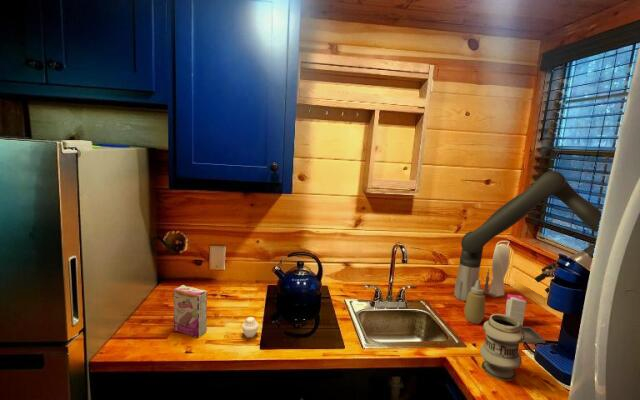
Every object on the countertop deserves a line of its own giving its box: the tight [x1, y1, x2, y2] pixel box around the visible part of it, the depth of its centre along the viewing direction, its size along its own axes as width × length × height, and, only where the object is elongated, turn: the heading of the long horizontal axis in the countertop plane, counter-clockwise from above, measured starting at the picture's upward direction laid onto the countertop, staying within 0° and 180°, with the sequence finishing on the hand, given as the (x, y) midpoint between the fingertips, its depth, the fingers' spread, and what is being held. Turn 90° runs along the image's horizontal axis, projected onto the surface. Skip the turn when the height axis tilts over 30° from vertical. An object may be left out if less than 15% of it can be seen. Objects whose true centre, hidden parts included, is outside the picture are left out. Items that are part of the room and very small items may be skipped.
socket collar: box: [520, 326, 546, 345], centre depth 134 cm, size 10×10×2 cm
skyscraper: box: [483, 240, 511, 298], centre depth 172 cm, size 8×8×28 cm
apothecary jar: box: [479, 313, 525, 382], centre depth 110 cm, size 12×12×18 cm
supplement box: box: [503, 293, 527, 326], centre depth 144 cm, size 6×6×12 cm
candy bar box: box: [173, 284, 208, 338], centre depth 123 cm, size 11×5×16 cm, turn 71°
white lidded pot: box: [241, 316, 260, 338], centre depth 124 cm, size 6×6×7 cm
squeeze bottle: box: [463, 279, 486, 325], centre depth 143 cm, size 8×8×18 cm
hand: (540, 286), depth 141 cm, fingers open, 8 cm apart
